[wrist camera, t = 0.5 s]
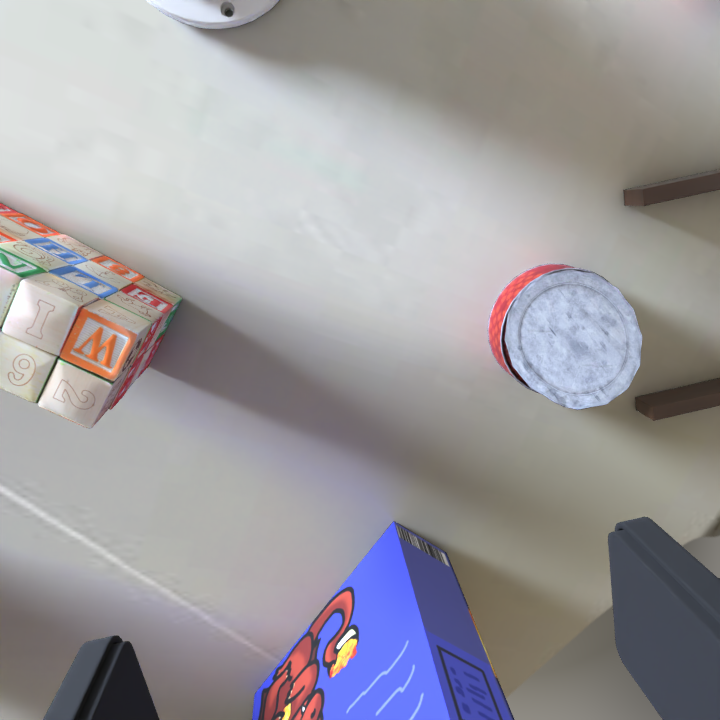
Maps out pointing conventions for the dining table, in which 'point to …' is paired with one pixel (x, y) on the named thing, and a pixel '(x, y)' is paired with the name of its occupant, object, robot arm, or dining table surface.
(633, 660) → the robot arm
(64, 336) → the stack of blocks
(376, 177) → the dining table surface
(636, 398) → the bay
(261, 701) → the cereal box
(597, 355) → the canned food
